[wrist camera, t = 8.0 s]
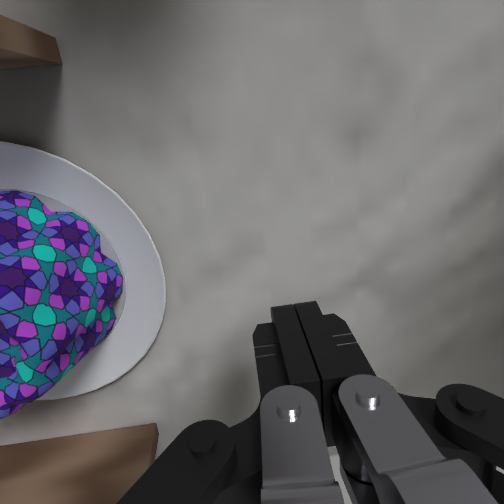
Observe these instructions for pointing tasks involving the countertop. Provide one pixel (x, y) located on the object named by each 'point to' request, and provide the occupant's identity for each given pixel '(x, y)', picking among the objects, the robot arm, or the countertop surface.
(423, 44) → the countertop surface
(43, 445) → the box
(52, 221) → the pudding
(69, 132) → the countertop surface
